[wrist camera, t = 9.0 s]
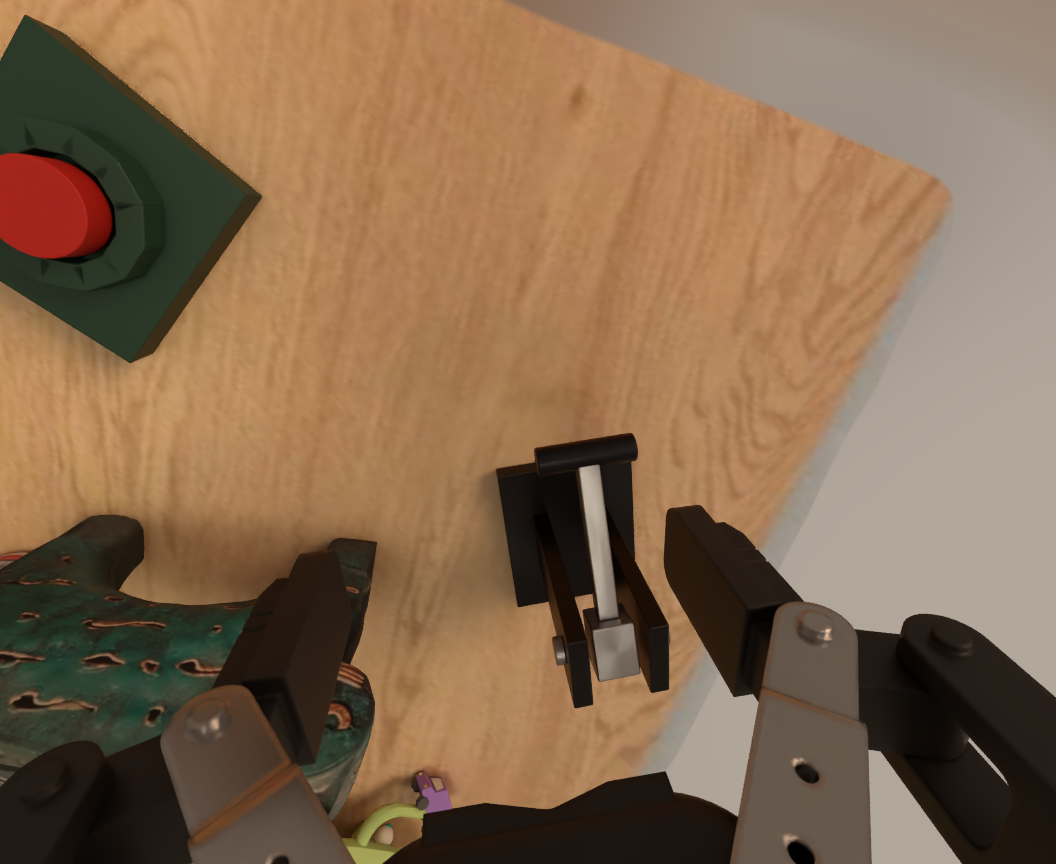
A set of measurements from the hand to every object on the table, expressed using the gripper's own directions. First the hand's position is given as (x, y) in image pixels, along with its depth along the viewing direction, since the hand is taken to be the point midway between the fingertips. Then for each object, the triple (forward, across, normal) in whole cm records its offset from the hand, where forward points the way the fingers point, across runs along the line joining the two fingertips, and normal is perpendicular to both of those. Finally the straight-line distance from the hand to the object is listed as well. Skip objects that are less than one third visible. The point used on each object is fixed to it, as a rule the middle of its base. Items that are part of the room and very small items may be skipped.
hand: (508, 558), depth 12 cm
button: (+17, +18, -9) cm, 26 cm away
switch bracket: (+20, -5, +13) cm, 25 cm away
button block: (+21, +18, -9) cm, 29 cm away
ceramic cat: (+21, +17, +12) cm, 29 cm away
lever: (+12, -5, +9) cm, 16 cm away
